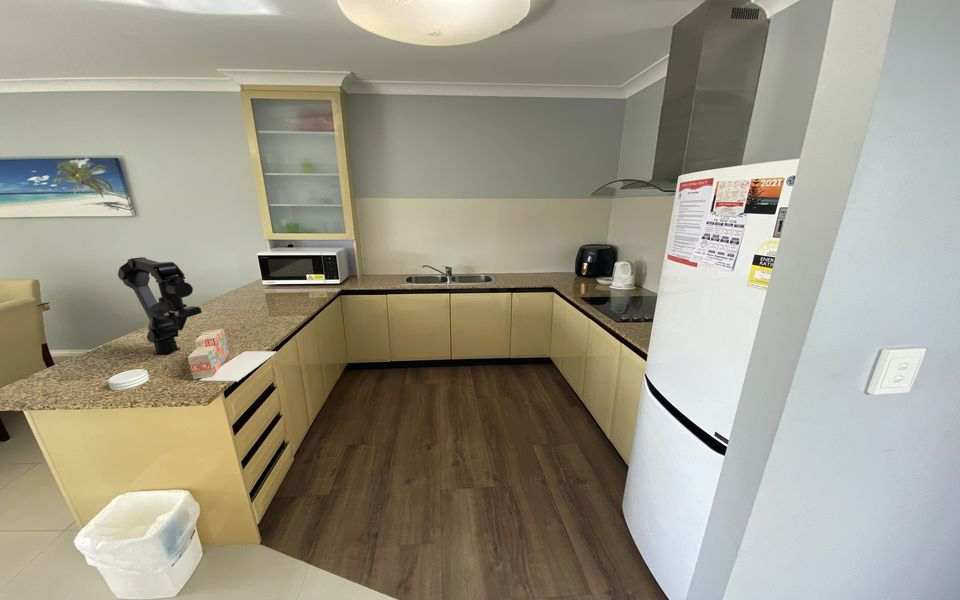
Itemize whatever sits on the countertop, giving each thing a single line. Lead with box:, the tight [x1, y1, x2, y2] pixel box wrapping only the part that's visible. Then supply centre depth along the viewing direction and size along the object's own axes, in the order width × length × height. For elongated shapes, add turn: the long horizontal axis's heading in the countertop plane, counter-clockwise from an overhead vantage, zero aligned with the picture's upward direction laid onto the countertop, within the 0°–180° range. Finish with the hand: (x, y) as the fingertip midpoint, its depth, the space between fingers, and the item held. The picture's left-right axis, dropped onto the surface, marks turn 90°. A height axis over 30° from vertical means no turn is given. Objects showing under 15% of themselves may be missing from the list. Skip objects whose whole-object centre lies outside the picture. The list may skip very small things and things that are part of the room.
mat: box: [198, 350, 277, 383], centre depth 132 cm, size 14×25×1 cm, turn 1°
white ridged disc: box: [107, 368, 150, 391], centre depth 117 cm, size 10×10×4 cm
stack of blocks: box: [187, 328, 231, 380], centre depth 129 cm, size 21×6×12 cm, turn 23°
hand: (180, 330), depth 133 cm, fingers closed
